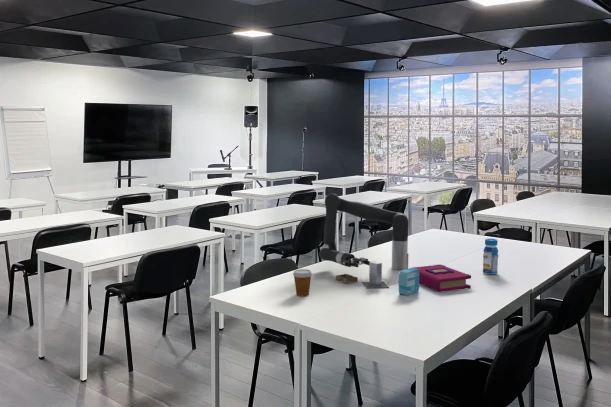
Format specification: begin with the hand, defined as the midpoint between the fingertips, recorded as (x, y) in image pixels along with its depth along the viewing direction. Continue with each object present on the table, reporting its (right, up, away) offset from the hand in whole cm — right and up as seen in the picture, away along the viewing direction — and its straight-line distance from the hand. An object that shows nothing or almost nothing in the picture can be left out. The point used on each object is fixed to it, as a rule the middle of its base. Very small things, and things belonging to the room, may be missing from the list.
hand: (364, 264), depth 304 cm
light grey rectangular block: (+5, -10, -7) cm, 13 cm away
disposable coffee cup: (-33, -13, -23) cm, 43 cm away
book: (+40, -11, -3) cm, 42 cm away
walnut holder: (-9, -9, +2) cm, 13 cm away
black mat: (+5, -10, -7) cm, 13 cm away
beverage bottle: (+75, -7, +17) cm, 77 cm away
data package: (+21, -12, -21) cm, 32 cm away
